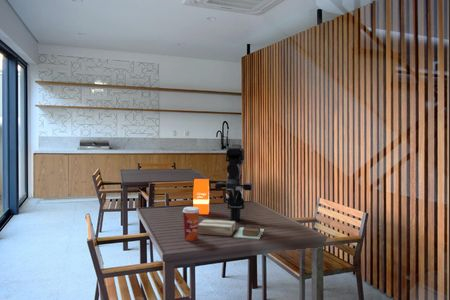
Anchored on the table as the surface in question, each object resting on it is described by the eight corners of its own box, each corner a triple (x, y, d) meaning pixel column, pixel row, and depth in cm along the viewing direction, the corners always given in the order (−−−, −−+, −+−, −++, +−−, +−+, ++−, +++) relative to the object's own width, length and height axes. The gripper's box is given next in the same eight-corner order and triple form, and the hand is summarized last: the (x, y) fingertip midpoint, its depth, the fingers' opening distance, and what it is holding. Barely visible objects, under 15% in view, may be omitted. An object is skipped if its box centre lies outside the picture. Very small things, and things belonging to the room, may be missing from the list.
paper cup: (188, 242, 160) (188, 211, 159) (179, 238, 166) (179, 207, 165) (203, 239, 164) (203, 208, 163) (194, 235, 170) (194, 205, 170)
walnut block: (260, 225, 177) (260, 231, 177) (246, 224, 178) (246, 230, 178) (257, 230, 168) (257, 236, 168) (242, 229, 170) (242, 235, 170)
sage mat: (240, 228, 183) (240, 227, 183) (264, 230, 180) (264, 229, 180) (233, 237, 168) (233, 236, 168) (259, 239, 165) (259, 238, 165)
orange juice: (208, 214, 213) (208, 180, 212) (193, 214, 213) (193, 179, 212) (209, 211, 221) (209, 178, 220) (194, 211, 221) (194, 178, 220)
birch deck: (204, 226, 185) (204, 219, 185) (235, 229, 182) (235, 221, 181) (197, 233, 174) (197, 225, 173) (230, 235, 170) (230, 227, 170)
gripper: (212, 173, 180) (211, 205, 181) (249, 175, 175) (249, 207, 176) (217, 171, 191) (217, 200, 191) (253, 172, 186) (252, 202, 187)
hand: (233, 203), depth 186 cm, fingers closed
